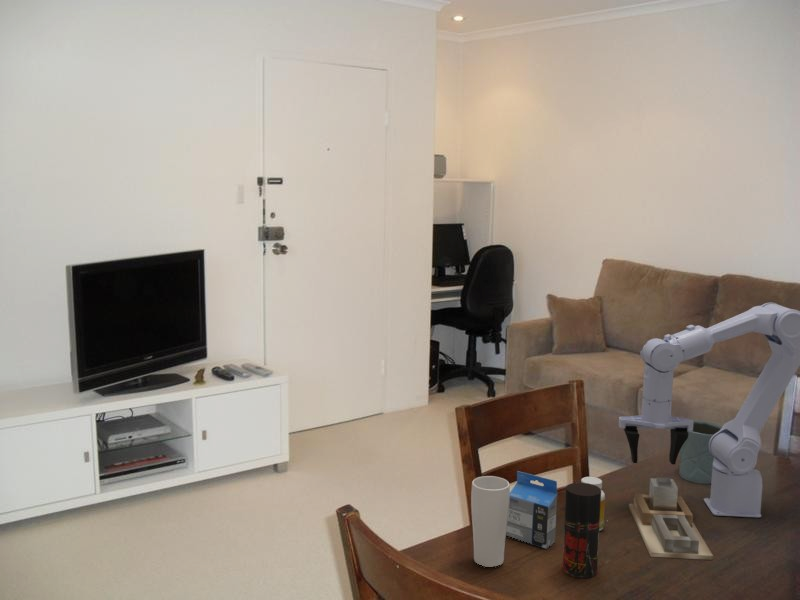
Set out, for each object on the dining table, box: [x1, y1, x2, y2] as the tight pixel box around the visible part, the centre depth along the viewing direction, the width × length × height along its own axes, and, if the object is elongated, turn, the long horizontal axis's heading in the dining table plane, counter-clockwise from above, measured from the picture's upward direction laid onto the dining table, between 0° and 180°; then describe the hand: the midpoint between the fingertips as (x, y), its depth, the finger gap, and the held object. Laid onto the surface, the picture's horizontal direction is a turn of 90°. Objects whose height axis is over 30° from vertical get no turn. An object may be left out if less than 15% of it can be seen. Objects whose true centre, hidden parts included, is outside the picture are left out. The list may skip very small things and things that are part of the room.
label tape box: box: [506, 470, 558, 549], centre depth 153 cm, size 9×4×12 cm, turn 53°
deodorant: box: [562, 482, 602, 579], centre depth 141 cm, size 6×6×15 cm
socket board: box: [628, 493, 714, 561], centre depth 157 cm, size 11×22×3 cm, turn 174°
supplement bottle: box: [580, 476, 606, 532], centre depth 159 cm, size 5×5×10 cm
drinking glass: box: [470, 475, 511, 568], centre depth 144 cm, size 7×7×15 cm
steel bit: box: [648, 477, 679, 511], centre depth 163 cm, size 4×4×8 cm
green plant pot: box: [679, 420, 723, 485], centre depth 185 cm, size 10×10×12 cm
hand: (653, 462), depth 166 cm, fingers open, 7 cm apart
